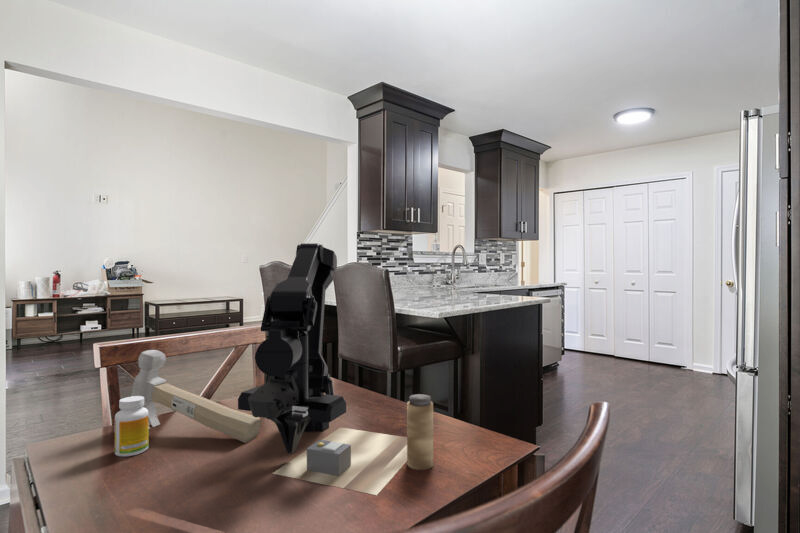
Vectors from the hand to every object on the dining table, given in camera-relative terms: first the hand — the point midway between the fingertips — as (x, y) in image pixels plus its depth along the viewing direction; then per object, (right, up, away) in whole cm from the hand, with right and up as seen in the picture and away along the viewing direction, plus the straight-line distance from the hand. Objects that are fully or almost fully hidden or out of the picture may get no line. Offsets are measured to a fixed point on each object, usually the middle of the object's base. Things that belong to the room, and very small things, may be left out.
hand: (291, 453), depth 75 cm
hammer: (-24, -3, +15) cm, 28 cm away
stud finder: (+7, -1, -3) cm, 8 cm away
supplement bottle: (-31, -2, +6) cm, 32 cm away
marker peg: (+22, -2, -1) cm, 22 cm away
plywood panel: (+11, -2, +2) cm, 11 cm away
